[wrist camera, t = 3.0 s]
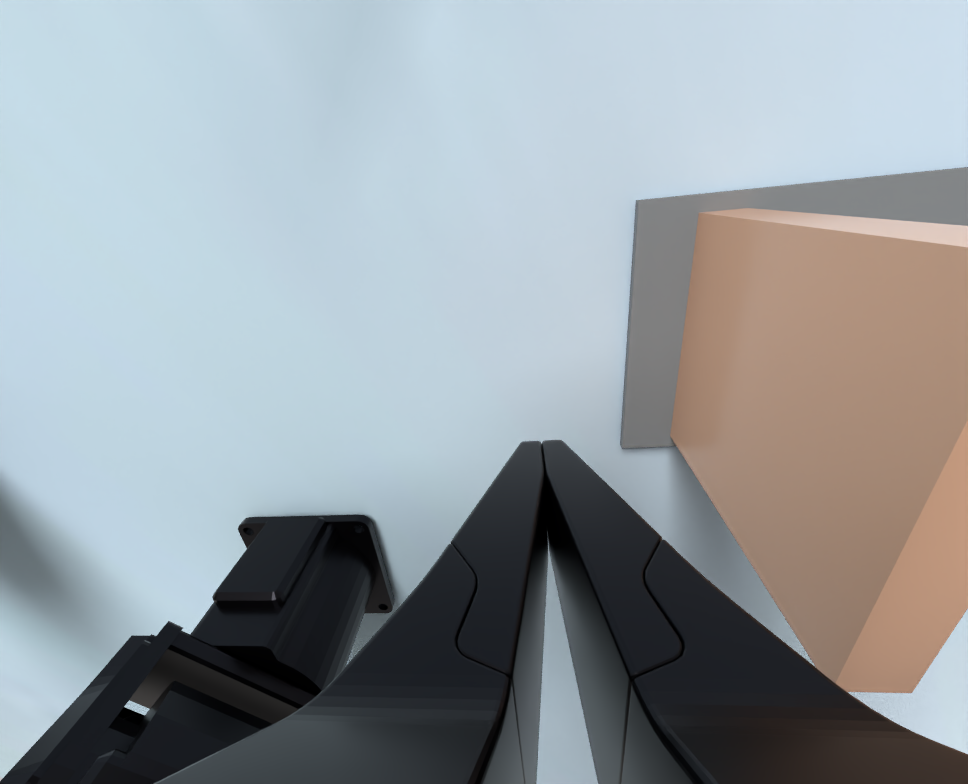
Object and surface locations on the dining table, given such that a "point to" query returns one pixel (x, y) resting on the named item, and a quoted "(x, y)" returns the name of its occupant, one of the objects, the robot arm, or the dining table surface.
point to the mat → (669, 258)
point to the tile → (836, 426)
